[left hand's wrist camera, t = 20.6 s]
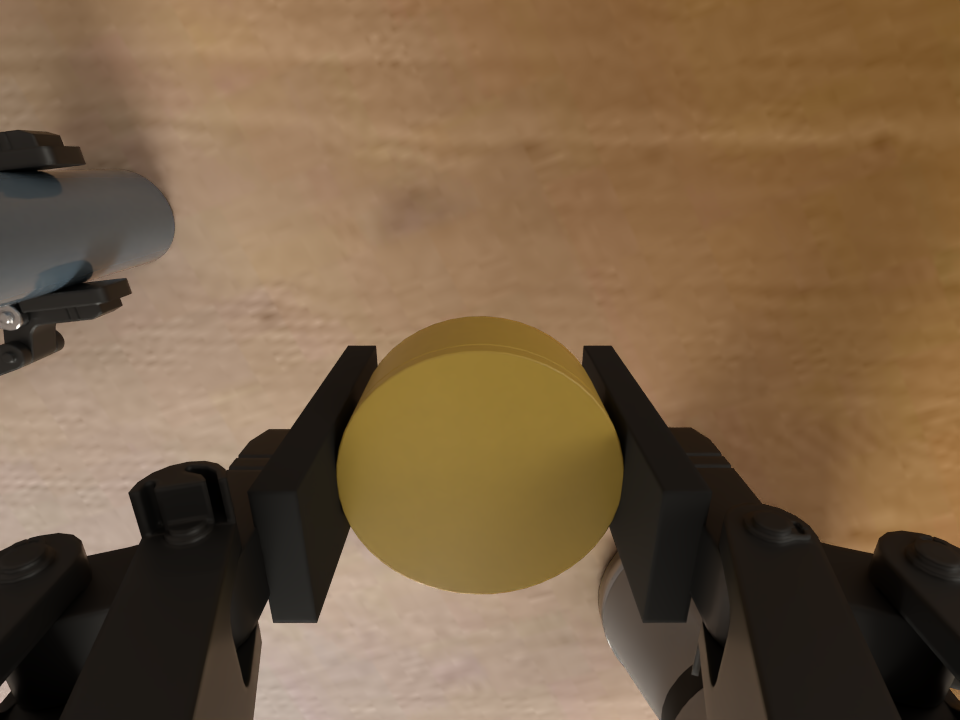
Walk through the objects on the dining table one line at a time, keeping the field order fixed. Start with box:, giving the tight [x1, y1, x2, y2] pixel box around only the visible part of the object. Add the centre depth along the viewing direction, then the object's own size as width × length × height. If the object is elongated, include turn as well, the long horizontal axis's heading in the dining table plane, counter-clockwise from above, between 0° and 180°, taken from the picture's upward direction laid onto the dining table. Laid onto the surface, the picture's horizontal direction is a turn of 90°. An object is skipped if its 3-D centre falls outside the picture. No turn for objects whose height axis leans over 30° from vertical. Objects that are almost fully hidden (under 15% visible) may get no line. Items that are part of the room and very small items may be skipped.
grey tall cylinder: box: [0, 169, 175, 308], centre depth 21 cm, size 5×5×16 cm
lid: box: [336, 316, 624, 594], centre depth 11 cm, size 6×6×2 cm
